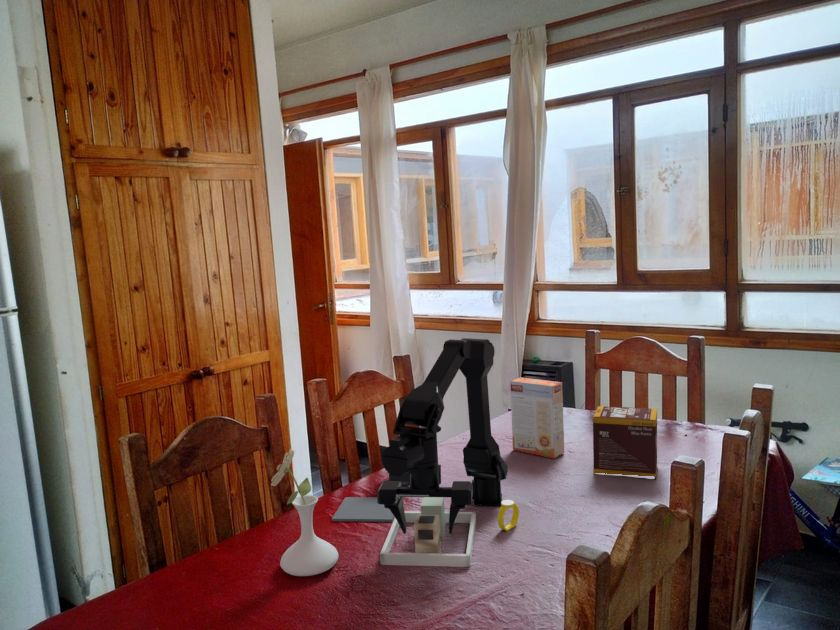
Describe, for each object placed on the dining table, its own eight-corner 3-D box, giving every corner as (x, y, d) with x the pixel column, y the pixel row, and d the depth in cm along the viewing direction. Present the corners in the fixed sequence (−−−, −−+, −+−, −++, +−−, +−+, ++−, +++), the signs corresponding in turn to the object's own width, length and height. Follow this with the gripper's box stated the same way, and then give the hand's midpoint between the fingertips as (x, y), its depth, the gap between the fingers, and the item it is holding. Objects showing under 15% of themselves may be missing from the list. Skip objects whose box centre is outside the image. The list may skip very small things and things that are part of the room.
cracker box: (565, 453, 183) (563, 381, 181) (554, 459, 179) (552, 386, 176) (523, 444, 193) (521, 375, 190) (512, 450, 188) (509, 380, 186)
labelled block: (440, 547, 133) (439, 514, 132) (438, 558, 128) (436, 524, 127) (419, 547, 134) (417, 514, 133) (415, 558, 129) (413, 524, 128)
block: (445, 527, 142) (443, 497, 141) (443, 537, 137) (441, 505, 136) (425, 527, 142) (423, 496, 141) (422, 536, 138) (420, 505, 137)
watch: (506, 536, 137) (504, 510, 136) (495, 532, 139) (493, 506, 138) (522, 523, 141) (520, 498, 140) (511, 520, 143) (509, 495, 142)
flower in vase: (306, 548, 136) (297, 432, 132) (350, 559, 130) (342, 439, 127) (262, 578, 124) (251, 453, 121) (308, 592, 119) (297, 461, 115)
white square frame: (476, 521, 144) (475, 512, 143) (470, 566, 124) (469, 556, 124) (398, 520, 146) (397, 511, 146) (380, 564, 127) (379, 554, 127)
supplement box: (656, 480, 161) (656, 419, 159) (593, 474, 167) (592, 416, 165) (658, 465, 171) (657, 408, 169) (597, 461, 176) (596, 405, 174)
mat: (401, 499, 157) (401, 497, 157) (392, 521, 146) (392, 519, 146) (345, 499, 160) (345, 497, 159) (332, 521, 148) (331, 518, 148)
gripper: (473, 445, 135) (476, 516, 137) (385, 445, 138) (389, 515, 140) (469, 464, 124) (473, 541, 126) (374, 464, 127) (379, 539, 129)
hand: (427, 533), depth 131 cm, fingers open, 9 cm apart
